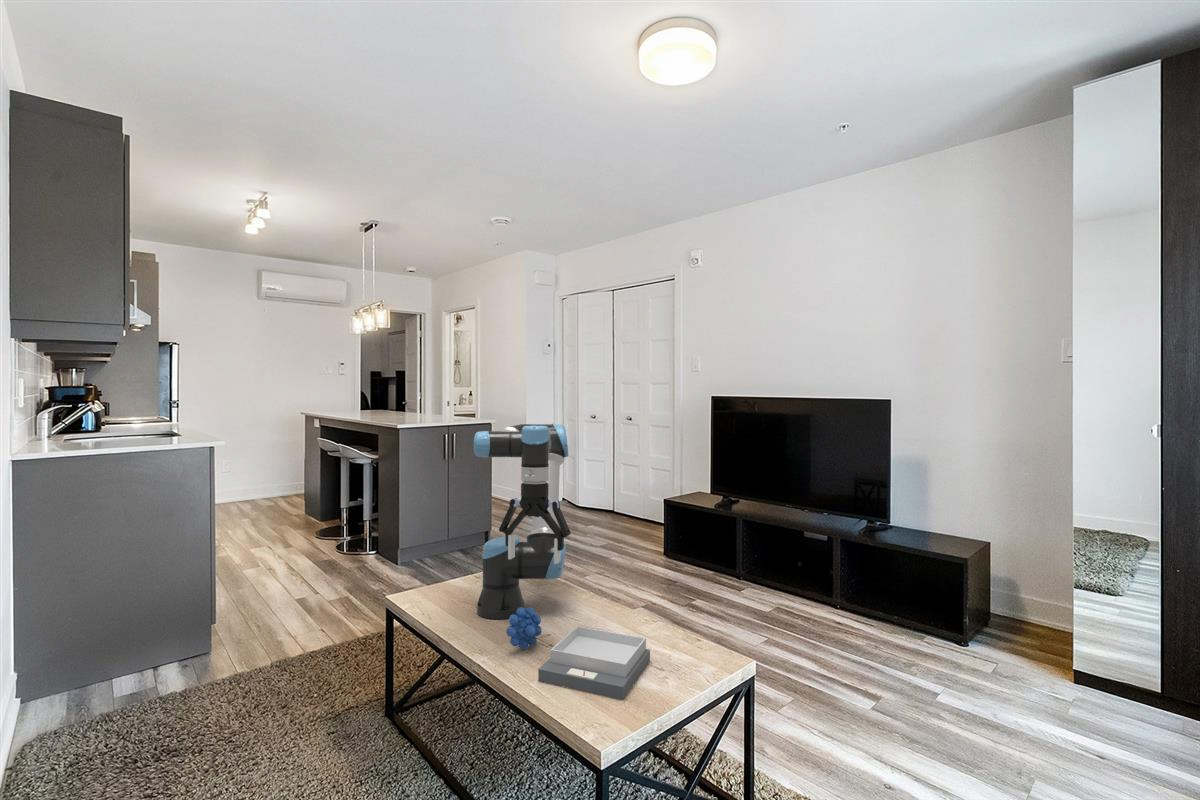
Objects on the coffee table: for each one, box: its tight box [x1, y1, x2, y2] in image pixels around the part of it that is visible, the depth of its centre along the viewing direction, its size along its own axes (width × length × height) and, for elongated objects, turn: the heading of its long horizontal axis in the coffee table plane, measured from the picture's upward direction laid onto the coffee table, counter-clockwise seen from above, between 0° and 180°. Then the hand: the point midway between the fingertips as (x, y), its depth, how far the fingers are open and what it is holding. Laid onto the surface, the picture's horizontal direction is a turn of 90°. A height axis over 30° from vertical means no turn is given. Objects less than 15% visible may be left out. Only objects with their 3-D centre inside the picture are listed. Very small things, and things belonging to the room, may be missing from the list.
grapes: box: [506, 607, 543, 651], centre depth 157 cm, size 12×7×12 cm, turn 135°
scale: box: [537, 625, 651, 701], centre depth 146 cm, size 22×21×6 cm
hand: (534, 560), depth 157 cm, fingers open, 13 cm apart
